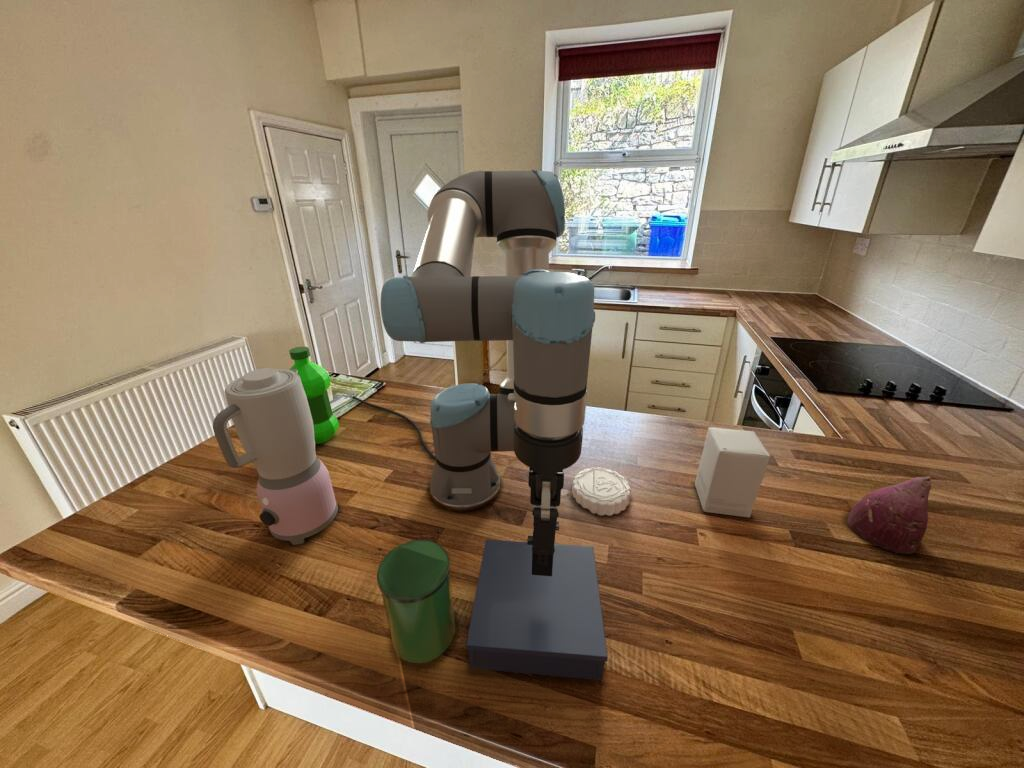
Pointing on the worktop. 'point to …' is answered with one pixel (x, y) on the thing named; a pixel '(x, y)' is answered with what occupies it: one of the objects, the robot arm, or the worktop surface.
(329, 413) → the plastic bottle
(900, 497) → the vegetable
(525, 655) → the chest
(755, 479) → the rectangular carton
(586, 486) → the mooncake
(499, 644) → the chest lid
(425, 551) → the green pot
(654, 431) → the worktop surface
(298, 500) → the blender
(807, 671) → the worktop surface
